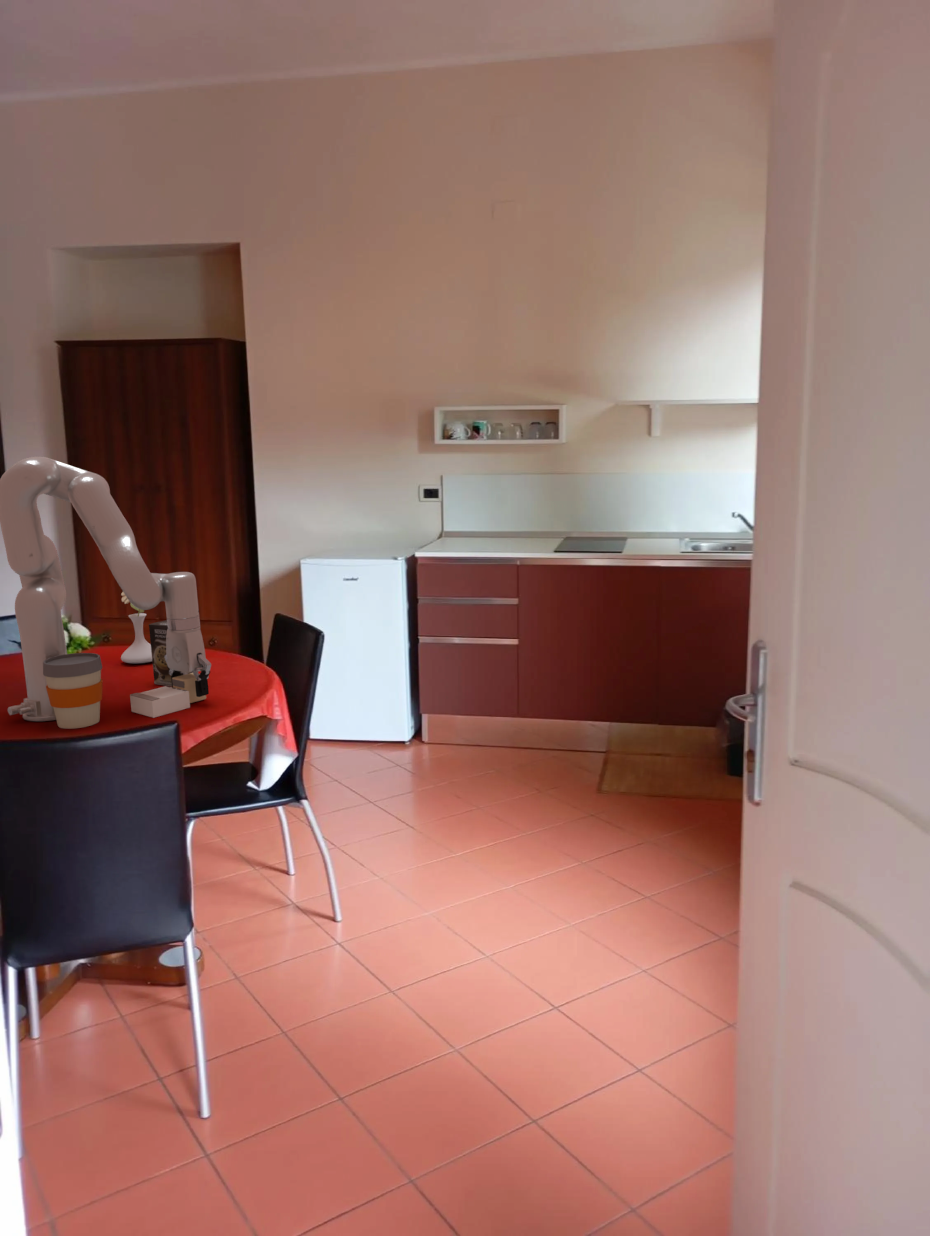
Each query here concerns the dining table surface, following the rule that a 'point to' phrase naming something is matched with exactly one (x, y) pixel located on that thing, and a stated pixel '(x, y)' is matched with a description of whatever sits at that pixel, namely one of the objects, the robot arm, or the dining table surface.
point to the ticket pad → (160, 701)
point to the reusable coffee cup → (74, 688)
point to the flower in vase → (137, 639)
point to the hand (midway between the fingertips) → (190, 692)
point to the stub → (187, 686)
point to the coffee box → (160, 653)
